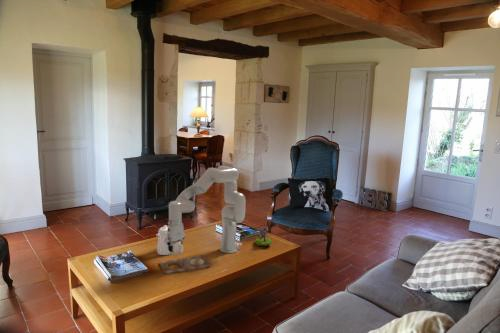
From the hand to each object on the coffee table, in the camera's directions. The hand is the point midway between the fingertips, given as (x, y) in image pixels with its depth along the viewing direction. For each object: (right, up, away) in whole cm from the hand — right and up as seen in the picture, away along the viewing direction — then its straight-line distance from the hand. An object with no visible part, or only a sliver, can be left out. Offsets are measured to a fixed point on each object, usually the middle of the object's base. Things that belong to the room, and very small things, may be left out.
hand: (175, 249), depth 220 cm
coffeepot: (-12, -7, +22) cm, 26 cm away
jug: (+1, -2, 0) cm, 3 cm away
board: (+5, -11, +5) cm, 13 cm away
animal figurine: (+55, -7, +42) cm, 70 cm away
